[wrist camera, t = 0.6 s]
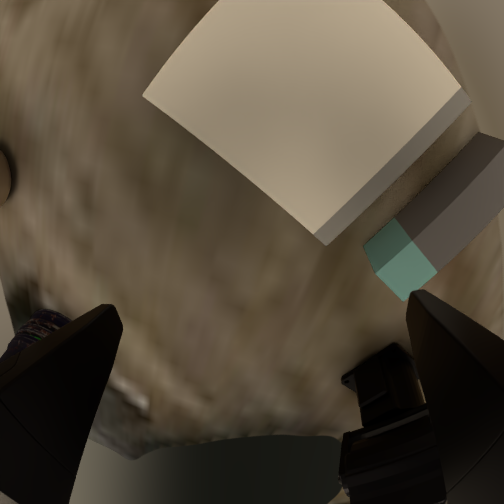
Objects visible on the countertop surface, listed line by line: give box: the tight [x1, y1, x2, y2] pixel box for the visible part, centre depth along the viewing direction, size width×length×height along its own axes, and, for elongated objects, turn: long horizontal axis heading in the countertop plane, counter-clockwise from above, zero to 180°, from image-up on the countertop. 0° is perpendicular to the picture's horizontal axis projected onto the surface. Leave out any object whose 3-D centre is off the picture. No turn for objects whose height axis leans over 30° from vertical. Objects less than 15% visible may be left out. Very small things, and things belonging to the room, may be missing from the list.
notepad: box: [142, 0, 472, 246], centre depth 16 cm, size 15×14×1 cm
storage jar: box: [0, 309, 71, 363], centre depth 23 cm, size 10×10×15 cm
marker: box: [363, 132, 504, 301], centre depth 17 cm, size 3×12×4 cm, turn 141°
